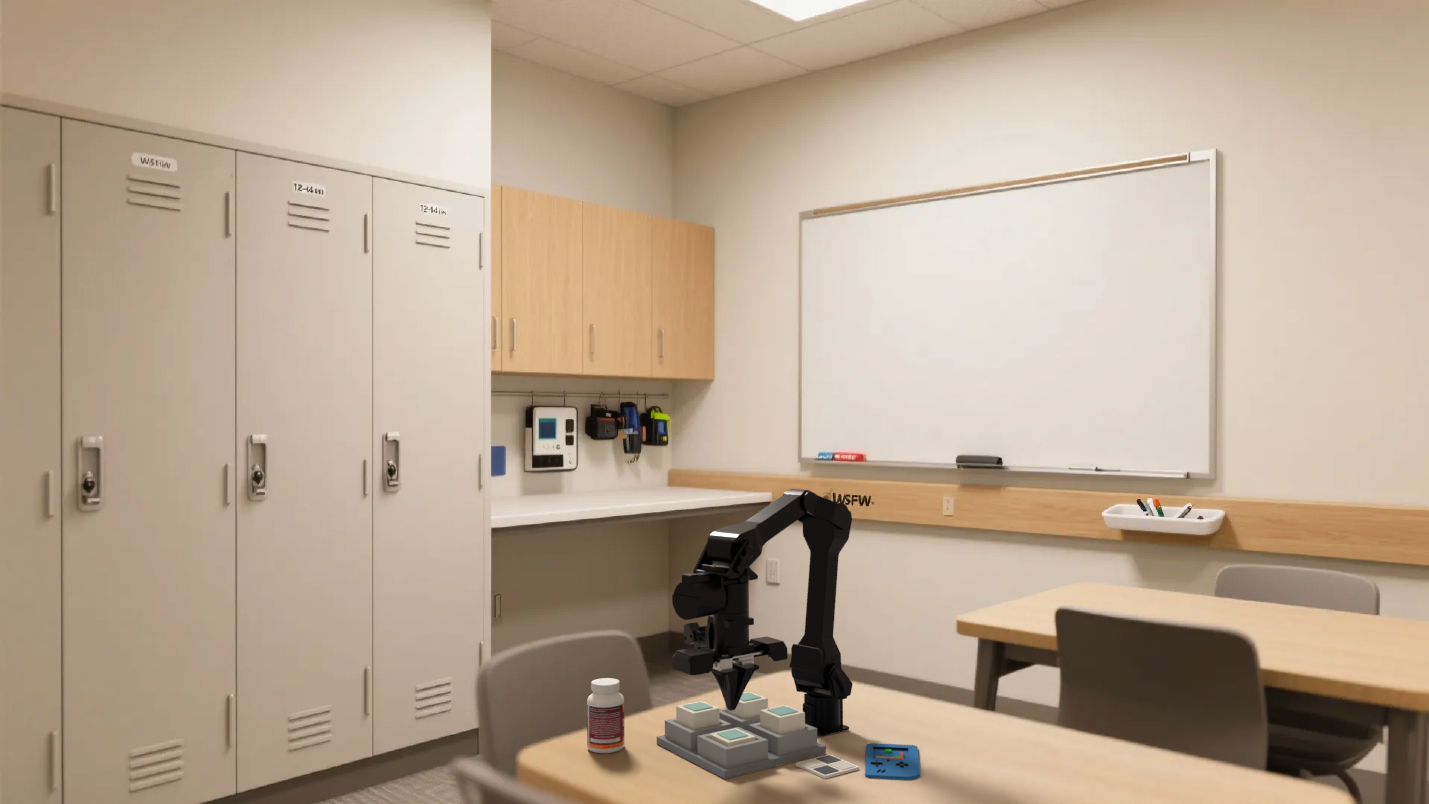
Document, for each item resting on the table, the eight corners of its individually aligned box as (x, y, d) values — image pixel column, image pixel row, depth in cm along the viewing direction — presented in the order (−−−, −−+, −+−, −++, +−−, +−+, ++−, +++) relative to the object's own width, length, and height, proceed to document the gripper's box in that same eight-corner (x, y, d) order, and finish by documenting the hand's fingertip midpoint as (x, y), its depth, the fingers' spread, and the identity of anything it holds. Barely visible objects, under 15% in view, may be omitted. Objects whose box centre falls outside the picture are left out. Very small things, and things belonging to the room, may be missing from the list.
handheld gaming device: (865, 772, 152) (866, 741, 167) (865, 780, 152) (866, 747, 167) (920, 775, 151) (917, 743, 166) (920, 783, 151) (917, 750, 166)
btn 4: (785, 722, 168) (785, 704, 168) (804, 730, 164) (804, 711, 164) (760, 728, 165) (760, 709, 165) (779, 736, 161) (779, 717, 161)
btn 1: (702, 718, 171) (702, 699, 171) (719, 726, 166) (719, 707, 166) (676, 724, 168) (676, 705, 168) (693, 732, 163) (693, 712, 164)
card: (829, 756, 162) (829, 753, 162) (859, 769, 156) (859, 766, 156) (795, 765, 158) (795, 762, 158) (824, 778, 152) (824, 775, 152)
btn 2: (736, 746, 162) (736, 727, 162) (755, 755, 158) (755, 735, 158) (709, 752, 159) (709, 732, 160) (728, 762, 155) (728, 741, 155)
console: (753, 723, 180) (752, 700, 180) (826, 753, 163) (825, 728, 163) (656, 743, 168) (656, 719, 168) (724, 779, 152) (724, 752, 152)
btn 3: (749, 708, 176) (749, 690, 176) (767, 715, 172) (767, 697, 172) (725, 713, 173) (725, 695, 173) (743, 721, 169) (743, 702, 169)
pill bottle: (631, 750, 166) (631, 682, 166) (597, 757, 162) (597, 688, 162) (613, 740, 171) (613, 674, 171) (580, 746, 167) (580, 680, 167)
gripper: (748, 597, 171) (749, 689, 171) (654, 609, 160) (654, 707, 160) (789, 607, 162) (789, 704, 161) (691, 620, 151) (692, 725, 151)
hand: (731, 709), depth 159 cm, fingers closed
